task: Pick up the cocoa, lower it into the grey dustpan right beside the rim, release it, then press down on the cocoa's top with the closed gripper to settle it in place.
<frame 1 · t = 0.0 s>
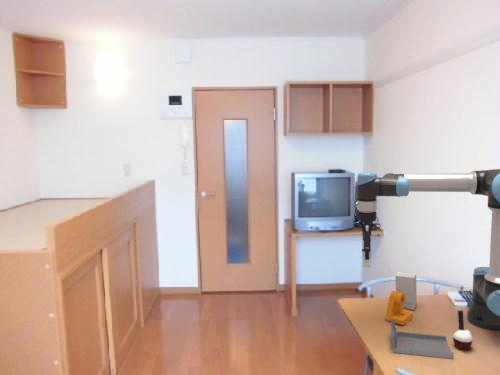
hand: (366, 261, 160), 28 cm above the table, fingers open, 13 cm apart
grey dustpan: (420, 346, 147), on the table
cocoa: (462, 347, 146), on the table
skincare box: (405, 306, 180), on the table
bracket: (399, 320, 168), on the table
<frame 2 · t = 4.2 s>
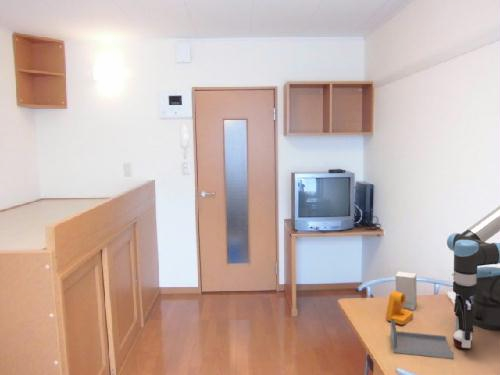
hand: (462, 339, 145), 3 cm above the table, fingers closed on cocoa, 9 cm apart
cocoa: (462, 347, 146), on the table, touching gripper
everything else where it was.
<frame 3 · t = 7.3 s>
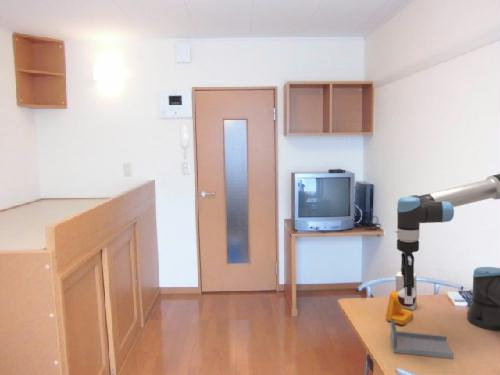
hand: (406, 297, 146), 19 cm above the table, fingers closed on cocoa, 9 cm apart
cocoa: (406, 304, 146), point 16 cm above the table, touching gripper
everything else where it was.
when the fingers open (5 cm above the table, at t = 10.3 s): cocoa drops 1 cm, resting on grey dustpan.
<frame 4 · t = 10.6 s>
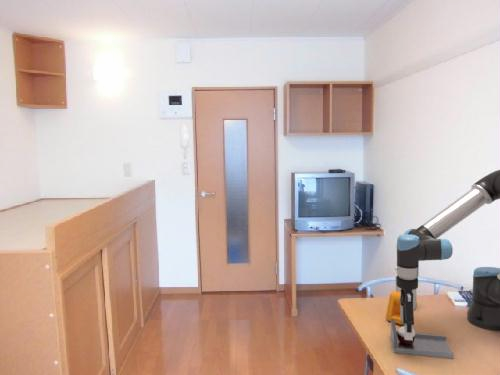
hand: (406, 330, 147), 6 cm above the table, fingers open, 13 cm apart
cocoa: (406, 342, 148), point 1 cm above the table, touching grey dustpan
everything else where it was.
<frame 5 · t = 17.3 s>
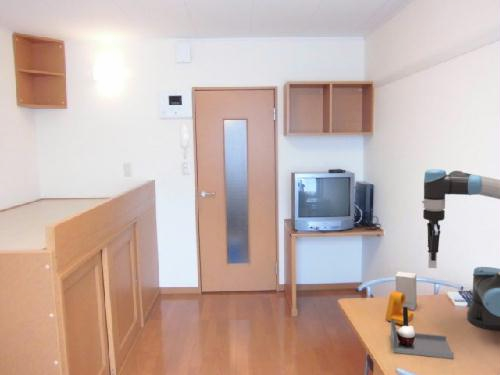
hand: (432, 267, 155), 26 cm above the table, fingers closed
nothing on the table moved.
at the end: cocoa 0.5 cm from the target spot on the grey dustpan, point 0.8 cm above the grey dustpan's base; cocoa tilted 0°; the gripper is holding nothing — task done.
